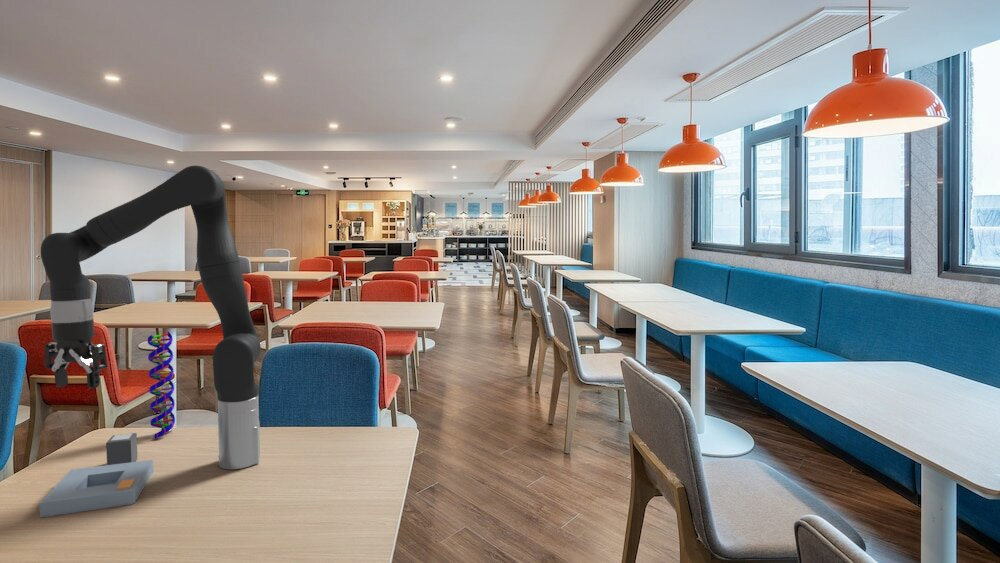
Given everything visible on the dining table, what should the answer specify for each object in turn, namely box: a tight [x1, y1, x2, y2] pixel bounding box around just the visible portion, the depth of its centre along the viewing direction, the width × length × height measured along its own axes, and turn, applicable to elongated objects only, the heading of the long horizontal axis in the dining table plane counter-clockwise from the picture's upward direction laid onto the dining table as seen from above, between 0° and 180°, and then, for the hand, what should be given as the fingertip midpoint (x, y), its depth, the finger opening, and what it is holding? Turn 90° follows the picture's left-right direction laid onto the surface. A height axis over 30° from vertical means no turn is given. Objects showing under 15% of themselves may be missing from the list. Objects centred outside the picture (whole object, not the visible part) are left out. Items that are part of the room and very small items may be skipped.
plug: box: [105, 432, 138, 465], centre depth 127 cm, size 5×5×7 cm
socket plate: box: [38, 459, 154, 518], centre depth 113 cm, size 16×16×3 cm
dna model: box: [147, 331, 176, 440], centre depth 144 cm, size 6×6×30 cm
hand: (77, 387), depth 119 cm, fingers open, 8 cm apart
